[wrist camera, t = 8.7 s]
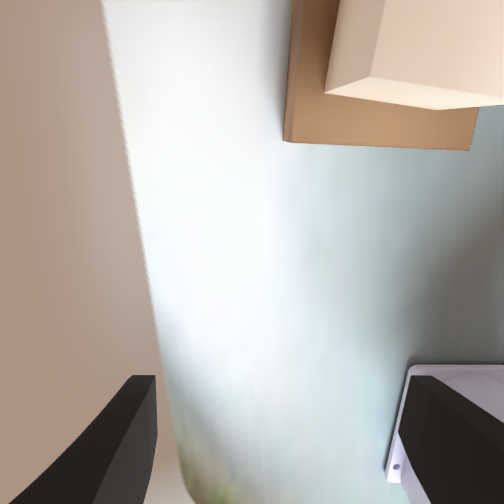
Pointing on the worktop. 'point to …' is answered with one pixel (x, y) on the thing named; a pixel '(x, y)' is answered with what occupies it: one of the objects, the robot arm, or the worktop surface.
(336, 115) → the base block
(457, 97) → the cube
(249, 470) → the worktop surface
